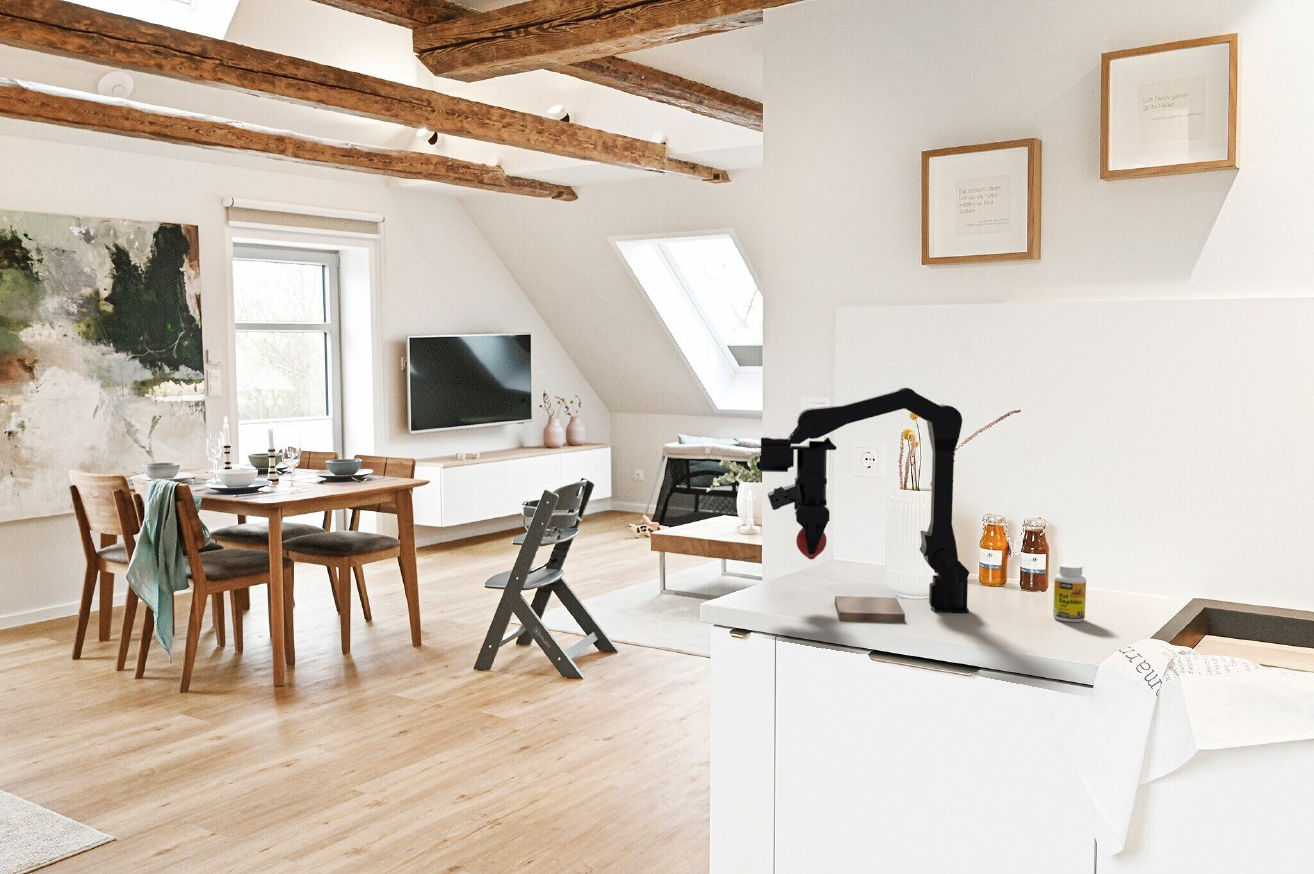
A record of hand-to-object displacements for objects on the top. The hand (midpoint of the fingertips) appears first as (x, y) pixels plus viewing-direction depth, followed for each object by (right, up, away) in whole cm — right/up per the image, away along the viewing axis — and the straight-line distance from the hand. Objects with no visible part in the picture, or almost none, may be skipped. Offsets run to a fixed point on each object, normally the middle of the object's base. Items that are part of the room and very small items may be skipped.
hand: (810, 551), depth 213 cm
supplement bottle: (+47, -12, -10) cm, 50 cm away
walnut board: (+10, -11, -5) cm, 16 cm away
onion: (0, -2, 0) cm, 2 cm away
